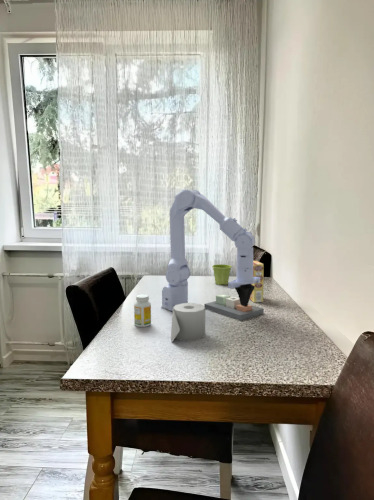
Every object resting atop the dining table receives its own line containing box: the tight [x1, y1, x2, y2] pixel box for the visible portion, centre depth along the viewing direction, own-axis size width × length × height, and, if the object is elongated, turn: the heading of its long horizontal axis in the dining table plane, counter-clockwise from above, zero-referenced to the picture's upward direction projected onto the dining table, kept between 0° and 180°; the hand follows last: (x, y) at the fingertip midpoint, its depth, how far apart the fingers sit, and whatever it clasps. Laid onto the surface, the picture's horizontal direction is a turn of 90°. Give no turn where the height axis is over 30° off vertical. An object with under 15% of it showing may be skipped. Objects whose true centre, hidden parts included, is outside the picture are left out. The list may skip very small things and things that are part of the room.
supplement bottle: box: [133, 293, 152, 328], centre depth 117 cm, size 5×5×10 cm
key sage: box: [215, 293, 231, 306], centre depth 135 cm, size 4×4×3 cm
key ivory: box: [226, 296, 241, 309], centre depth 131 cm, size 4×4×3 cm
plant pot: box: [211, 264, 233, 286], centre depth 175 cm, size 9×9×9 cm
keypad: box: [203, 300, 265, 321], centre depth 132 cm, size 12×18×2 cm, turn 39°
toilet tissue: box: [170, 302, 206, 343], centre depth 106 cm, size 9×13×9 cm
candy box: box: [249, 260, 265, 303], centre depth 146 cm, size 9×4×15 cm, turn 8°
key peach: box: [236, 304, 252, 312], centre depth 127 cm, size 4×4×3 cm
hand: (244, 305), depth 127 cm, fingers closed, pressing on key peach
